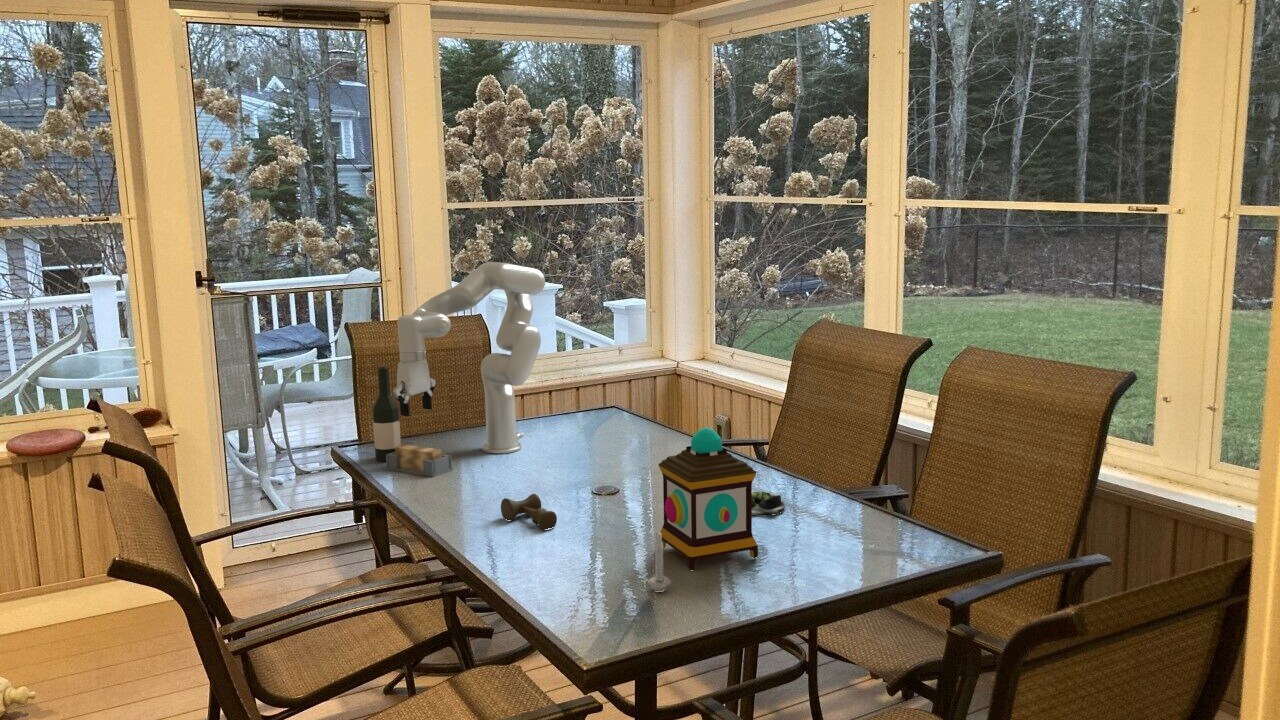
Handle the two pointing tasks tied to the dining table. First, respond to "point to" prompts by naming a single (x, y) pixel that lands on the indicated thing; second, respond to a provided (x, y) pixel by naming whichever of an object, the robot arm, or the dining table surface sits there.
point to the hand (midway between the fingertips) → (416, 412)
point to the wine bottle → (385, 418)
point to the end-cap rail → (429, 466)
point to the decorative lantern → (707, 500)
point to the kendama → (529, 511)
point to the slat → (415, 456)
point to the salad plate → (766, 503)
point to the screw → (659, 567)
